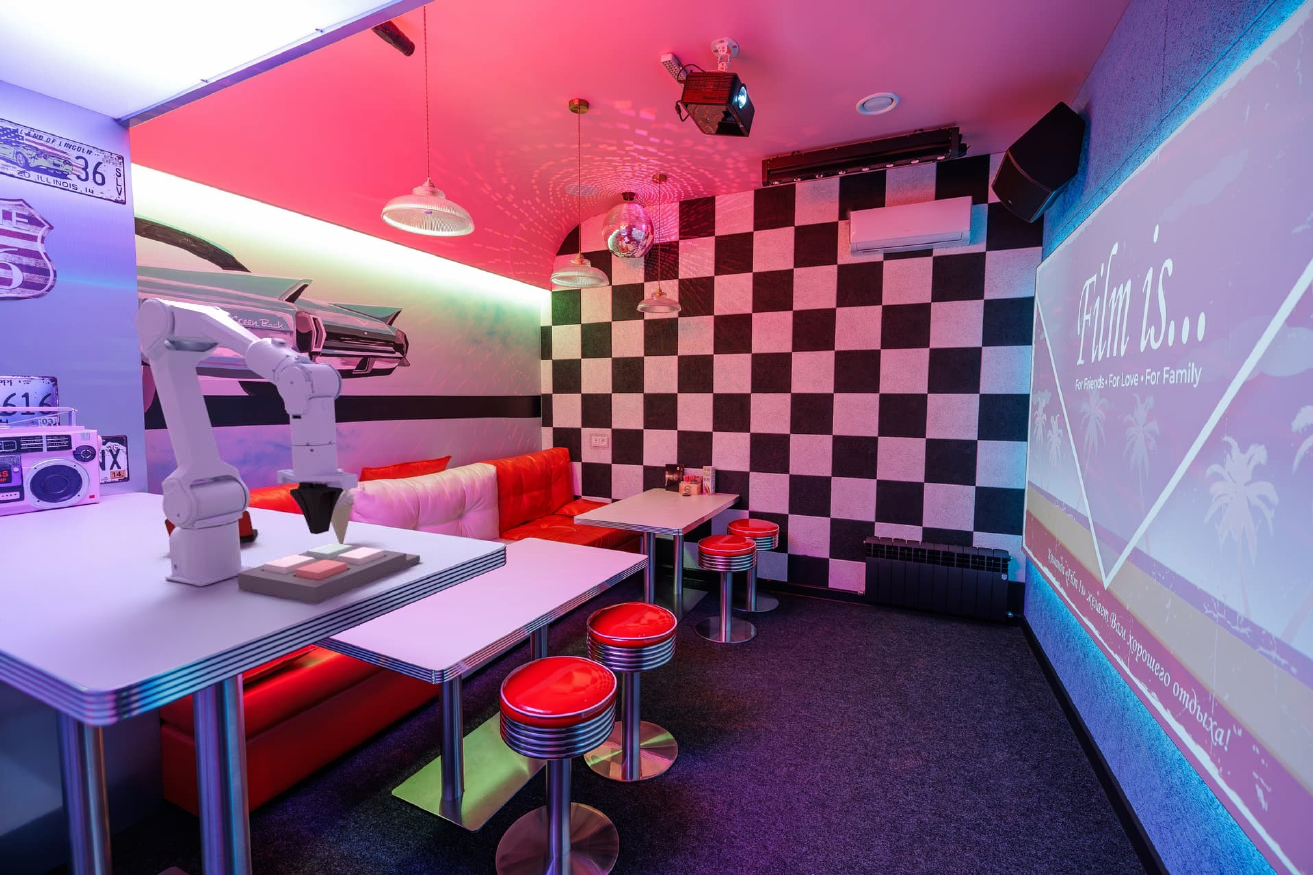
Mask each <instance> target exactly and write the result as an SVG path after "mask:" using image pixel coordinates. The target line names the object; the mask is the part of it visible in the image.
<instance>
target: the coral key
mask: <svg viewBox="0 0 1313 875" xmlns="http://www.w3.org/2000/svg"><path fill="white" fill-rule="evenodd" d="M295 570H296V577H300V578H306V579H311V580H317V581H319V580H322V579H324V578H327V577H330V576H333V575H335V574H338V573H341V572H344V571H346V570H347V563H344V562H338V561H331V560H322V561H319V562H316V563H313V564H309V565H306V566H303V567H300V568H297V569H295Z"/></svg>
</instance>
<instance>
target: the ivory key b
mask: <svg viewBox="0 0 1313 875" xmlns="http://www.w3.org/2000/svg"><path fill="white" fill-rule="evenodd" d="M360 547H361V548H358V549H355V550H352V551H349V552H346V553H343V554H340V555H337V559H338V562H344V563H347V564H351V565H357V566H360V565H363V564H366V563H368V562H371V561H374V560H377V559H379V558H382V557H384V550H385V549H380V548H379V549H380V550H379V549H378V548H374V549H372V547H366V548H365V546H360Z"/></svg>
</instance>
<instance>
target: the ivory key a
mask: <svg viewBox="0 0 1313 875" xmlns="http://www.w3.org/2000/svg"><path fill="white" fill-rule="evenodd" d="M313 563H315V558H313V557H306V556H300V555H298V554H292V555H288V556H285V557H281V558H278V559H274V560H271V561H268V562H265V563H263V565H264V571H267V572H272V573H278V574H283V575H286V574H289V573H292V572H295V571H296V570H295V569H297V568H300V567H303V566H306V565H309V564H313Z"/></svg>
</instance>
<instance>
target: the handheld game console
mask: <svg viewBox="0 0 1313 875" xmlns="http://www.w3.org/2000/svg"><path fill="white" fill-rule="evenodd" d="M164 524H165V528H166V532H167V535H168V537H169V538H170V535H171V533H172V531H173V530H174V529H175V528H176V527H175V525H174V524H173V523H171V522H170V521H169V520H168V519H167V518H166V519H165V520H164ZM238 526H239V539H240V544H244V543H251V542H254V541H255V539H256V537H257V535H258V533H259V530H258V529H256V528H253V523H252V519H251V514H250V511H248V510H247V509H246V510H245V511H244V512H242V518H239V519H238Z"/></svg>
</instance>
